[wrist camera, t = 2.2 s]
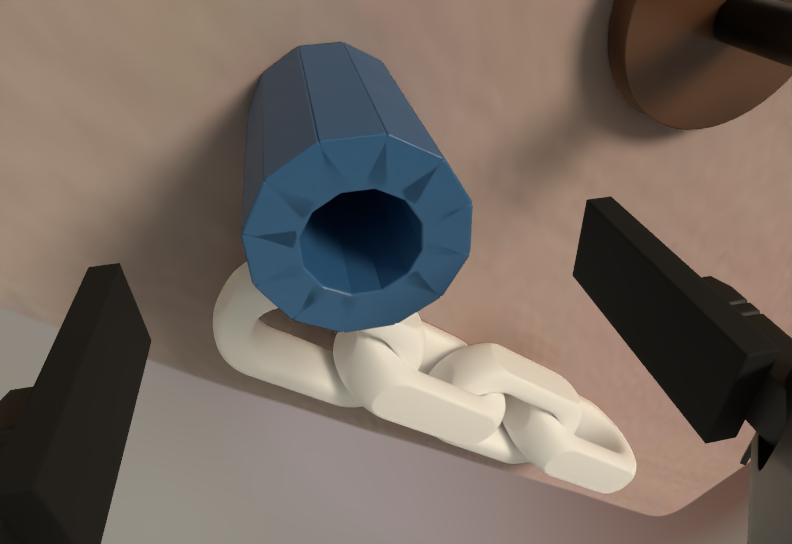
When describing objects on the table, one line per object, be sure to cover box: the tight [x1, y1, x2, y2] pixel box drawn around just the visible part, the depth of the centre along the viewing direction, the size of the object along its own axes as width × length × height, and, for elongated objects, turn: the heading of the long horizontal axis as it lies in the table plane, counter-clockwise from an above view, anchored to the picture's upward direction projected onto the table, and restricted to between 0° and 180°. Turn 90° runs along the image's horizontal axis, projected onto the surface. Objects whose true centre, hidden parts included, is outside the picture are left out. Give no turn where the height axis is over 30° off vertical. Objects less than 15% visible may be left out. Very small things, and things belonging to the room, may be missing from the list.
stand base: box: [608, 0, 792, 130], centre depth 24 cm, size 10×10×2 cm
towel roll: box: [241, 42, 472, 333], centre depth 20 cm, size 7×7×10 cm
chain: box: [213, 261, 636, 494], centre depth 32 cm, size 30×6×6 cm, turn 53°
